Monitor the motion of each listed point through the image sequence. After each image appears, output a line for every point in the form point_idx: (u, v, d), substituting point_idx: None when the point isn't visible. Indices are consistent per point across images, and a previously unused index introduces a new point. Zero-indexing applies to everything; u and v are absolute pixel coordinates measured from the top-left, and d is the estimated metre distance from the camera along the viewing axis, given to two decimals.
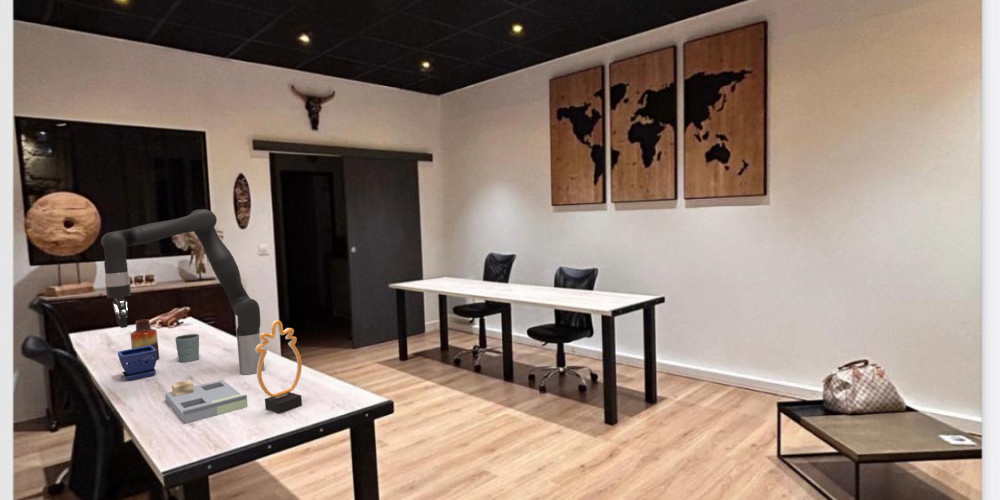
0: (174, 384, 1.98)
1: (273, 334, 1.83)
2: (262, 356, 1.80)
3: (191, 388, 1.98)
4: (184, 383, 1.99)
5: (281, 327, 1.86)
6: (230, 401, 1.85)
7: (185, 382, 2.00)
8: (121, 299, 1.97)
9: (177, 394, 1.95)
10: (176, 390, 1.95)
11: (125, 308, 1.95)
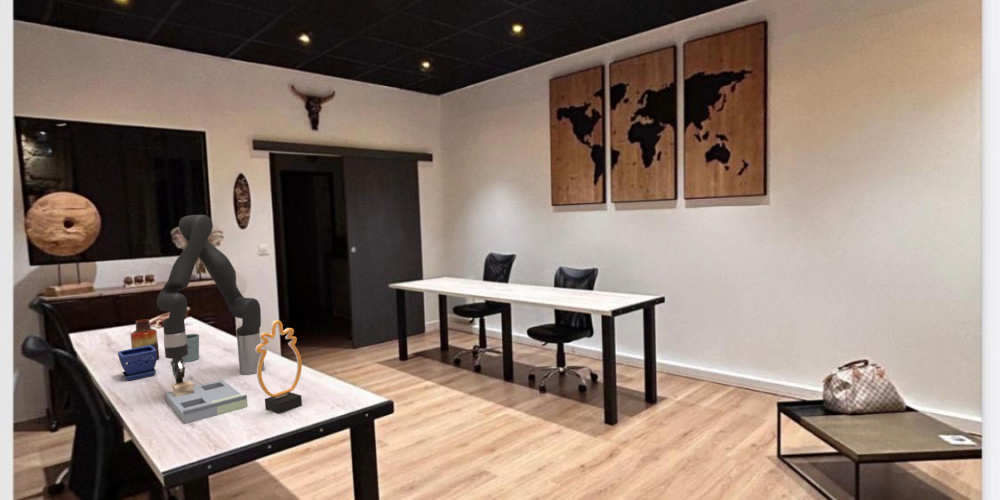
0: (175, 384, 1.97)
1: (273, 334, 1.83)
2: (262, 356, 1.80)
3: (192, 388, 1.98)
4: (185, 383, 1.98)
5: (281, 327, 1.86)
6: (230, 401, 1.85)
7: (186, 382, 1.99)
8: (179, 359, 1.98)
9: (177, 395, 1.94)
10: (176, 390, 1.94)
11: (183, 373, 1.99)
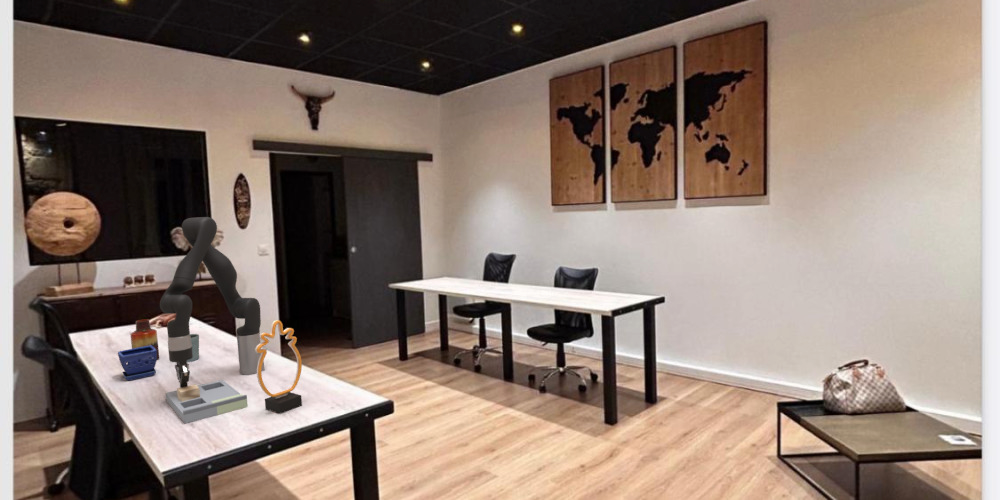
0: (180, 389, 1.92)
1: (273, 334, 1.83)
2: (262, 356, 1.80)
3: (197, 393, 1.92)
4: (190, 388, 1.93)
5: (281, 327, 1.86)
6: (230, 401, 1.85)
7: (191, 387, 1.94)
8: (184, 363, 1.93)
9: (183, 399, 1.89)
10: (182, 395, 1.89)
11: (188, 377, 1.93)
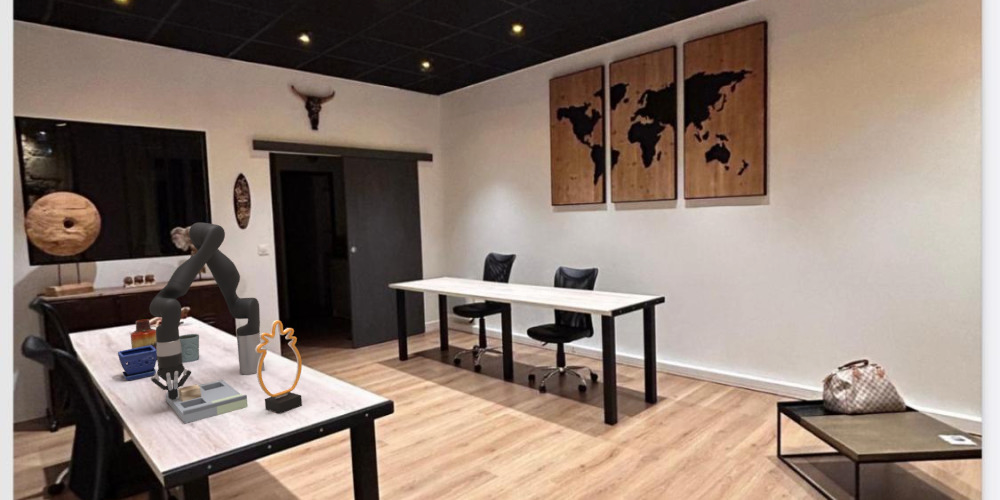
0: (181, 389, 1.92)
1: (273, 334, 1.83)
2: (262, 356, 1.80)
3: (198, 393, 1.92)
4: (191, 388, 1.93)
5: (281, 327, 1.86)
6: (230, 401, 1.85)
7: (192, 386, 1.94)
8: (158, 370, 1.86)
9: (184, 399, 1.89)
10: (183, 395, 1.89)
11: None
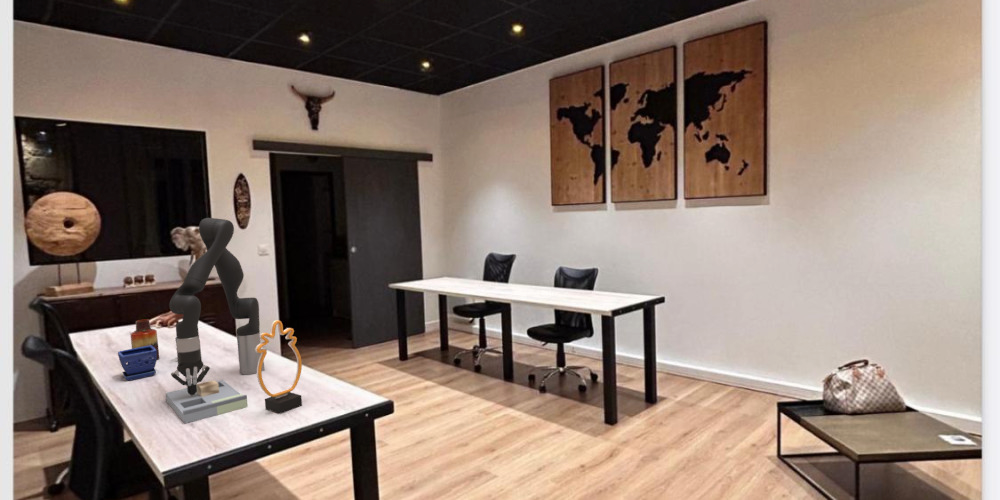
0: (199, 384, 1.96)
1: (273, 334, 1.83)
2: (262, 356, 1.80)
3: (216, 388, 1.97)
4: (209, 383, 1.97)
5: (281, 327, 1.86)
6: (230, 401, 1.85)
7: (210, 382, 1.98)
8: (178, 365, 1.90)
9: (203, 394, 1.93)
10: (202, 390, 1.93)
11: (177, 380, 1.90)
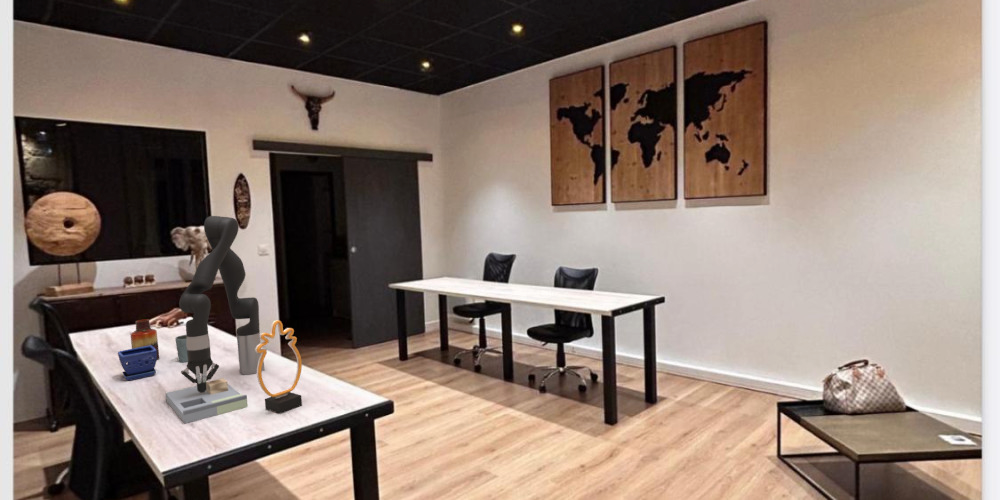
0: (208, 382, 1.98)
1: (273, 334, 1.83)
2: (262, 356, 1.80)
3: (225, 386, 1.98)
4: (218, 381, 1.99)
5: (281, 327, 1.86)
6: (230, 401, 1.85)
7: (219, 380, 2.00)
8: (188, 363, 1.92)
9: (212, 392, 1.95)
10: (211, 388, 1.95)
11: (187, 378, 1.92)
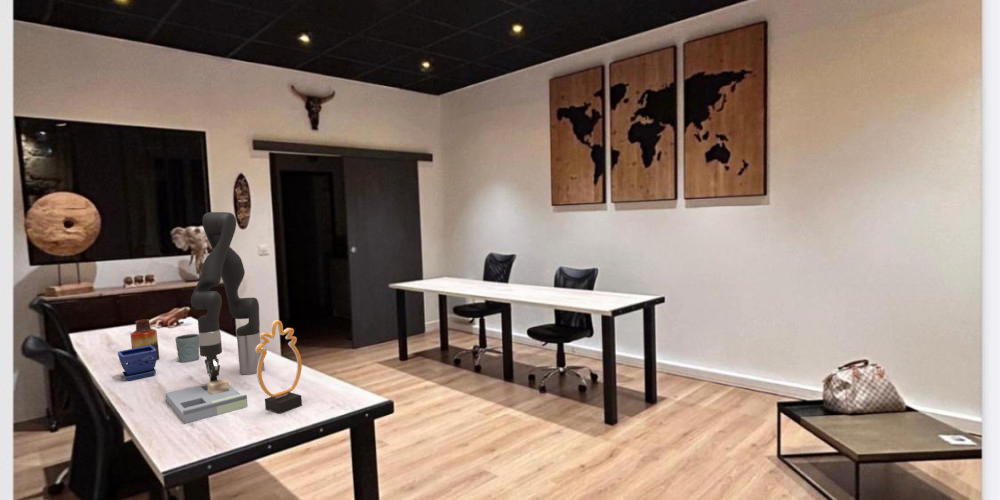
0: (210, 382, 1.98)
1: (273, 334, 1.83)
2: (262, 356, 1.80)
3: (227, 386, 1.98)
4: (220, 381, 1.99)
5: (281, 327, 1.86)
6: (230, 401, 1.85)
7: (220, 380, 2.00)
8: (214, 357, 1.99)
9: (213, 392, 1.95)
10: (212, 388, 1.95)
11: (218, 371, 1.99)
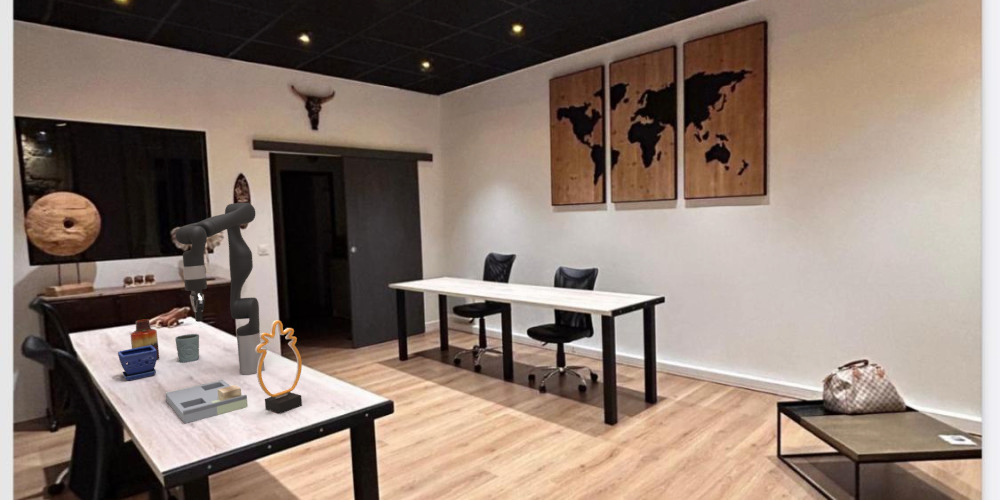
0: (221, 389, 1.89)
1: (273, 334, 1.83)
2: (262, 356, 1.80)
3: (239, 393, 1.90)
4: (231, 388, 1.90)
5: (281, 327, 1.86)
6: (230, 401, 1.85)
7: (232, 387, 1.91)
8: (199, 292, 2.00)
9: None
10: (224, 396, 1.86)
11: (203, 305, 2.00)
